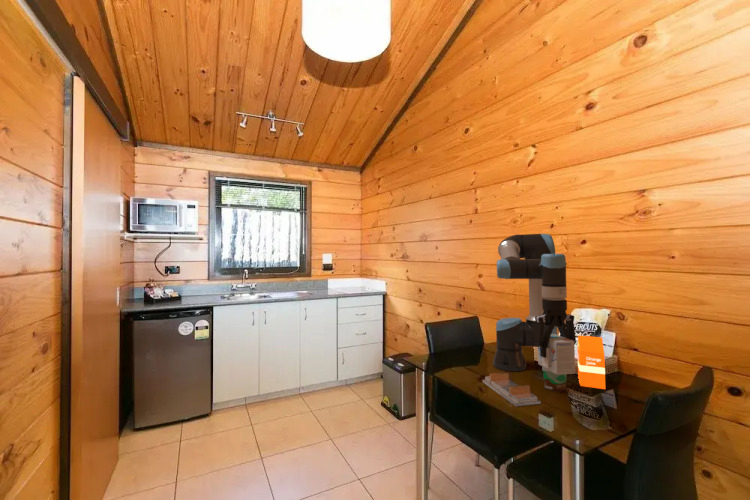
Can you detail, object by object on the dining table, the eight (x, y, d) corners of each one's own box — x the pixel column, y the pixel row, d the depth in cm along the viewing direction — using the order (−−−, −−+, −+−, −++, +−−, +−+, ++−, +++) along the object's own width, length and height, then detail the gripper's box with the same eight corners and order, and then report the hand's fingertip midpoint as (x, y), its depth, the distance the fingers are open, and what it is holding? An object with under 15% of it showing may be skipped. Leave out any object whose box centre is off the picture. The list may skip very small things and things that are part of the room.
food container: (556, 395, 129) (556, 369, 129) (542, 390, 134) (541, 365, 134) (576, 389, 134) (575, 364, 135) (561, 384, 140) (560, 360, 140)
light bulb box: (537, 364, 118) (536, 334, 119) (555, 363, 119) (554, 333, 119) (557, 375, 108) (556, 341, 108) (576, 373, 108) (575, 340, 109)
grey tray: (503, 380, 145) (503, 368, 145) (540, 403, 121) (540, 390, 122) (482, 382, 143) (482, 370, 143) (516, 406, 120) (515, 392, 120)
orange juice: (578, 379, 145) (576, 333, 145) (602, 382, 141) (601, 335, 141) (580, 385, 138) (578, 337, 138) (605, 389, 134) (604, 339, 134)
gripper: (535, 301, 108) (537, 371, 108) (588, 298, 112) (589, 366, 112) (521, 298, 116) (523, 364, 115) (570, 296, 119) (572, 360, 119)
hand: (555, 365), depth 113 cm, fingers closed on light bulb box, 7 cm apart
